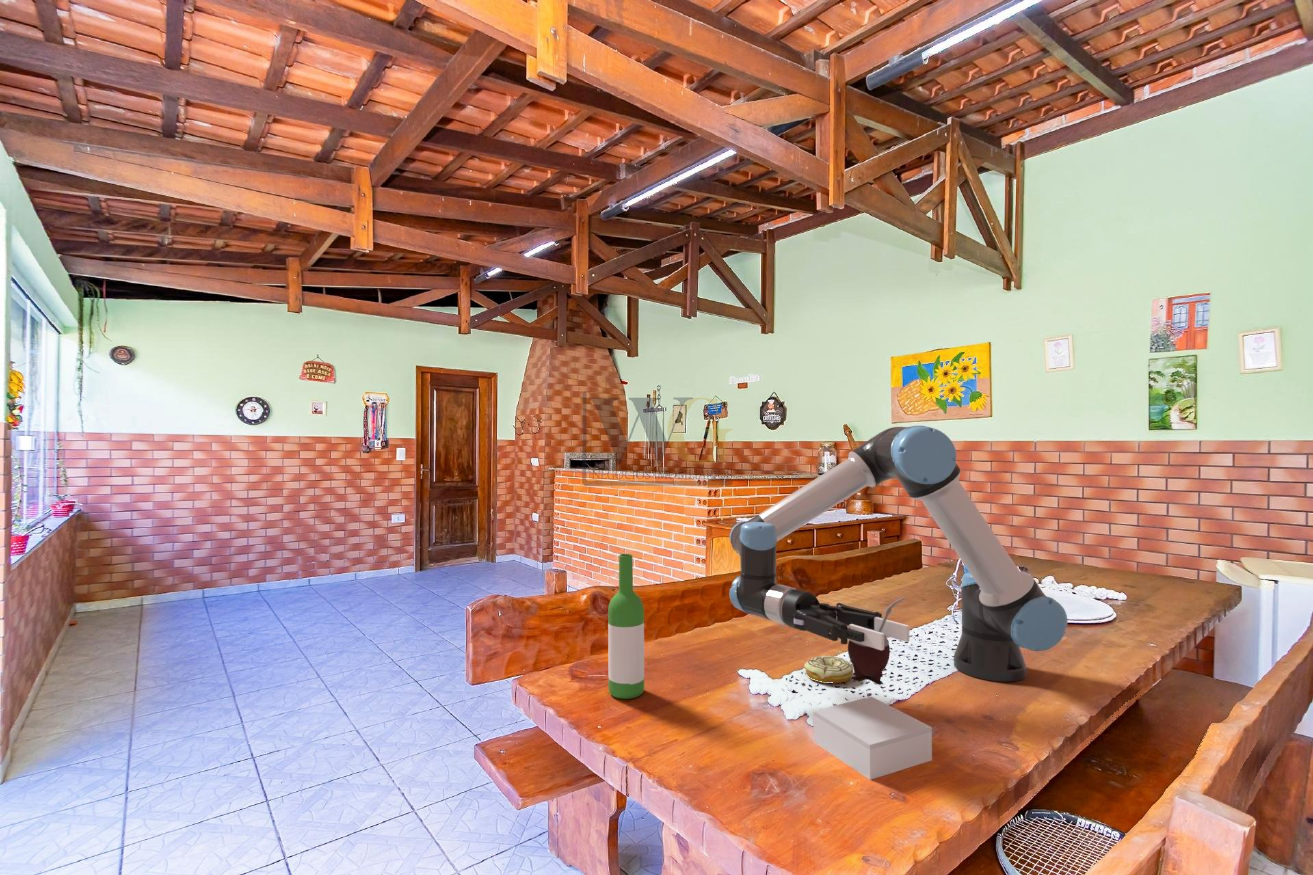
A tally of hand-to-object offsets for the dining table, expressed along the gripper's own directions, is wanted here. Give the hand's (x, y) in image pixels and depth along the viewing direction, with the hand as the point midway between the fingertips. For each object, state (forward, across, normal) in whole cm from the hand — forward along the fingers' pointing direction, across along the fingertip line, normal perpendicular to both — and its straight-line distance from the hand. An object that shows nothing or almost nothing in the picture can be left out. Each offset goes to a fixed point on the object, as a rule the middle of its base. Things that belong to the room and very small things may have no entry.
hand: (895, 637), depth 107 cm
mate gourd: (-5, 0, -9) cm, 10 cm away
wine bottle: (-51, +21, -22) cm, 60 cm away
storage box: (-5, 0, -22) cm, 22 cm away
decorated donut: (-32, -21, -22) cm, 44 cm away
